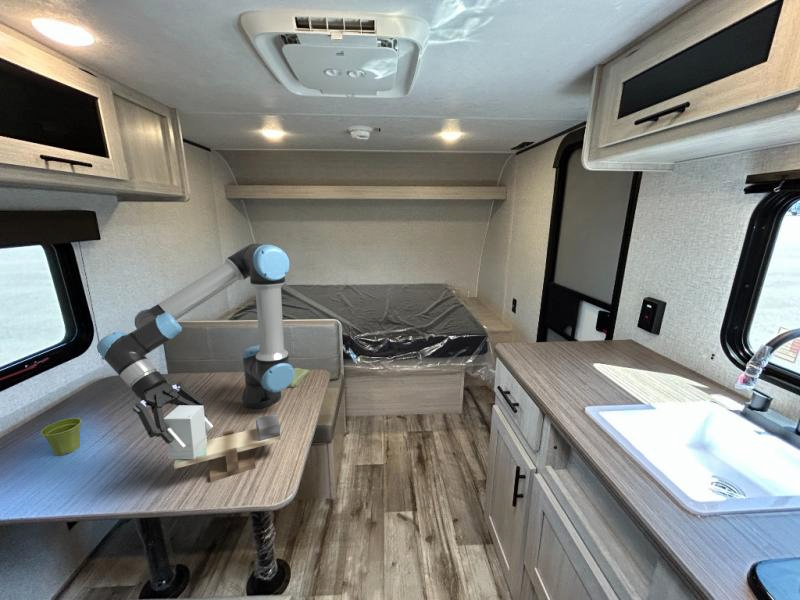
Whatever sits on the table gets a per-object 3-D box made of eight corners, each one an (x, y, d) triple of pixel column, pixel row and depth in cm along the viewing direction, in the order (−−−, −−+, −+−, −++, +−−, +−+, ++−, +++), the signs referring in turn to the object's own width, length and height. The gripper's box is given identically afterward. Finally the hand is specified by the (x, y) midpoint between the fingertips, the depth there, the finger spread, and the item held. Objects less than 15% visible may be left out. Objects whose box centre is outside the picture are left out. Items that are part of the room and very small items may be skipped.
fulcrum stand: (250, 447, 113) (248, 425, 111) (255, 467, 103) (253, 444, 101) (209, 459, 107) (206, 436, 105) (210, 482, 97) (207, 457, 96)
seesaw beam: (275, 427, 114) (275, 412, 113) (280, 441, 107) (280, 425, 106) (176, 452, 100) (174, 435, 99) (174, 469, 93) (172, 451, 92)
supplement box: (208, 443, 102) (204, 404, 99) (194, 460, 94) (190, 418, 92) (182, 443, 101) (178, 404, 99) (166, 459, 94) (162, 418, 92)
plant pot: (66, 460, 106) (60, 435, 104) (38, 458, 106) (31, 434, 105) (94, 441, 115) (89, 418, 113) (68, 440, 116) (62, 417, 114)
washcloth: (311, 372, 169) (311, 366, 168) (296, 389, 152) (295, 383, 151) (286, 371, 171) (286, 365, 170) (268, 387, 154) (267, 381, 153)
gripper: (172, 371, 108) (219, 424, 108) (97, 405, 88) (154, 470, 87) (183, 357, 106) (231, 411, 105) (109, 389, 85) (168, 456, 85)
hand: (196, 438), depth 96 cm, fingers closed on supplement box, 9 cm apart
